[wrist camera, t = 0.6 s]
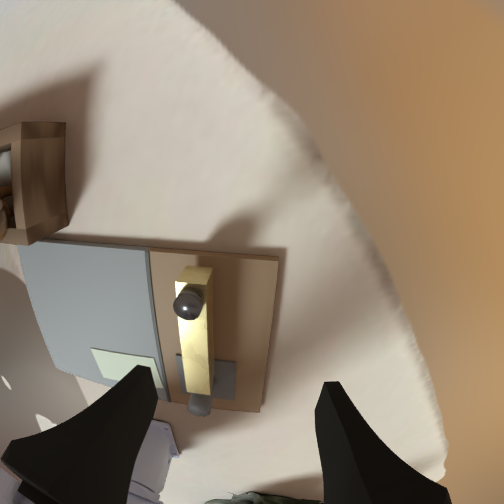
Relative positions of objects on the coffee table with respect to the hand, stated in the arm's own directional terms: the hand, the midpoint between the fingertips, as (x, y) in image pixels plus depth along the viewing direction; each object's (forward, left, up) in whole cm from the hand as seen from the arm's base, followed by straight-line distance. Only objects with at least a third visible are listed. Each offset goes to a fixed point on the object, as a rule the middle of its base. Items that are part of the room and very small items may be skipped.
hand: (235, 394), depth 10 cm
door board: (-6, +10, -10) cm, 15 cm away
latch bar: (-3, +3, -8) cm, 9 cm away
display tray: (+8, +23, -10) cm, 26 cm away
